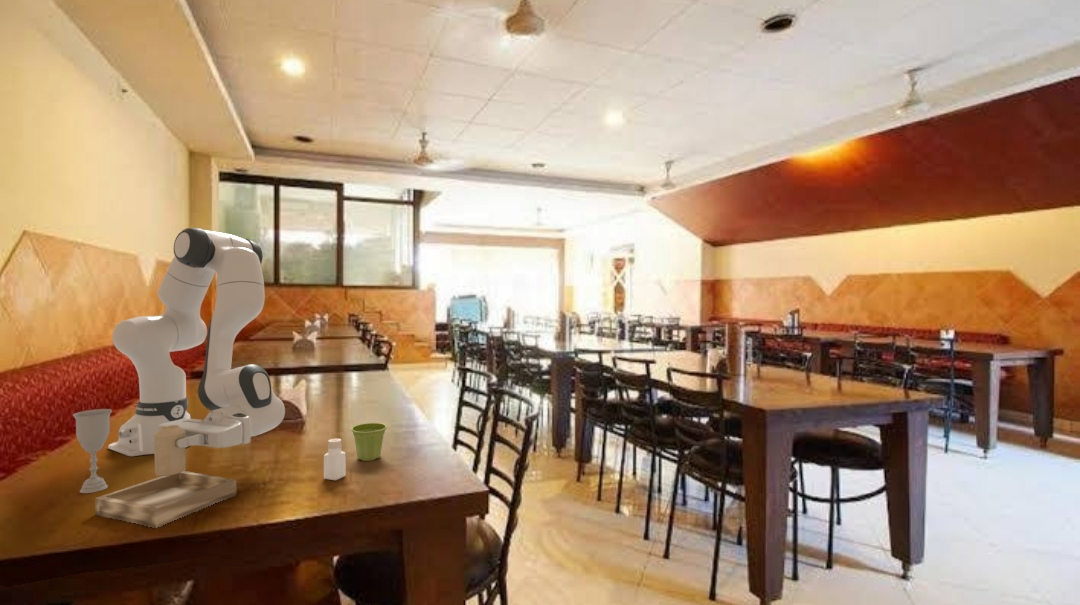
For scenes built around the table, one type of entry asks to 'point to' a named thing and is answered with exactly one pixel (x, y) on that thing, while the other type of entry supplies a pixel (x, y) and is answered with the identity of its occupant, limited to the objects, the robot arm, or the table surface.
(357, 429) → the plant pot
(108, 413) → the chalice
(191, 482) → the tray
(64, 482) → the table surface
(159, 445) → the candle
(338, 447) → the salt shaker
